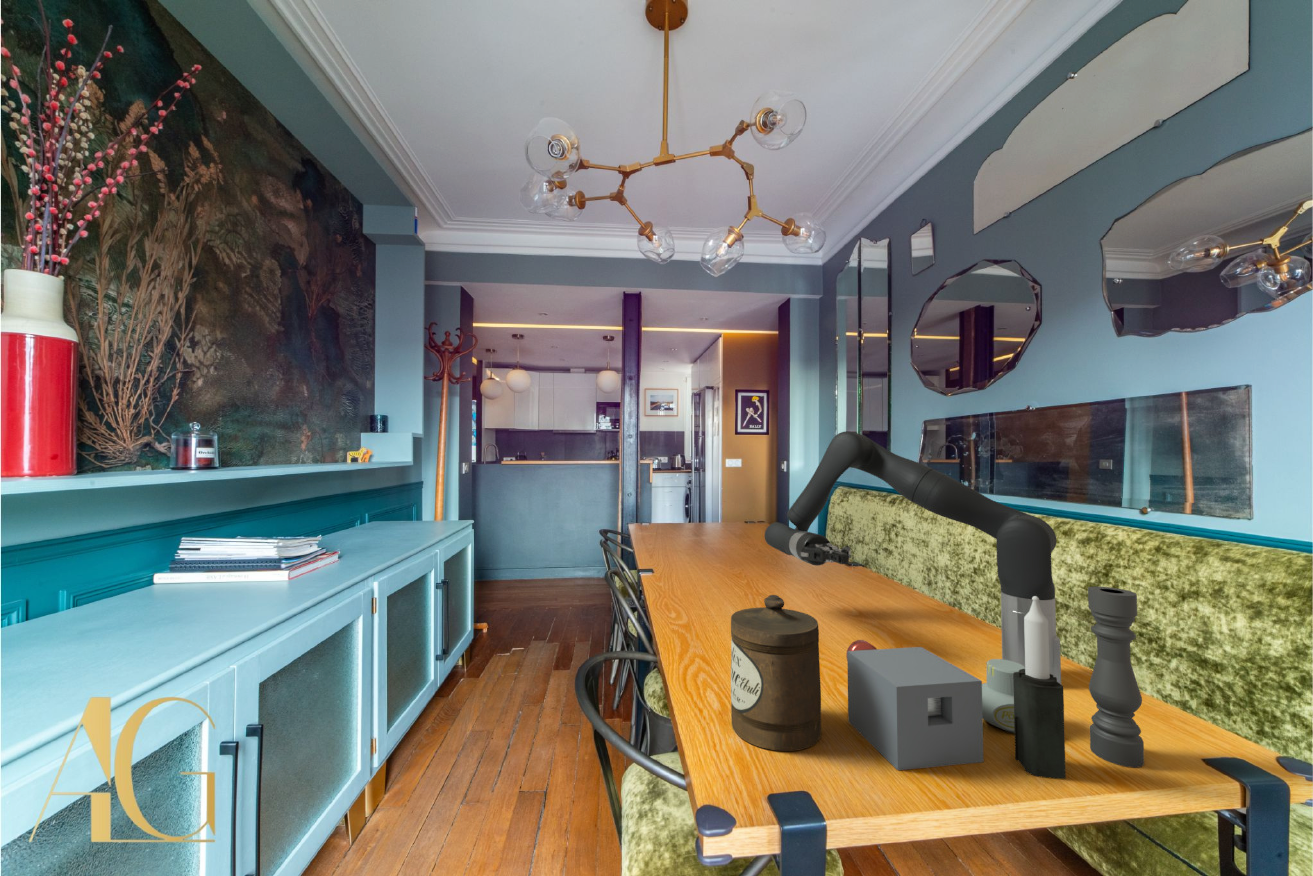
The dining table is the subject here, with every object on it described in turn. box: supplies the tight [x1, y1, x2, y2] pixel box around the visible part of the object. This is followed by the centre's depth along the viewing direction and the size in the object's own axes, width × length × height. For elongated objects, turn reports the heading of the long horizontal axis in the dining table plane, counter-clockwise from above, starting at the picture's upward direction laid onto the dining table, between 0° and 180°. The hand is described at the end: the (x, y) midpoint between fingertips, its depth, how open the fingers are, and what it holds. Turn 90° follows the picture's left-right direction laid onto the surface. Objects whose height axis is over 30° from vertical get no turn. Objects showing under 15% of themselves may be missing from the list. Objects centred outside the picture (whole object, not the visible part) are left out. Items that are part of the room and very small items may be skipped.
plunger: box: [845, 639, 941, 716], centre depth 89 cm, size 20×6×6 cm, turn 9°
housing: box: [846, 646, 984, 771], centre depth 83 cm, size 14×14×12 cm
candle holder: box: [1087, 586, 1145, 768], centre depth 80 cm, size 6×6×25 cm
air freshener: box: [982, 658, 1025, 734], centre depth 89 cm, size 11×8×10 cm
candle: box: [1013, 596, 1066, 779], centre depth 77 cm, size 5×5×25 cm
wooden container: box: [730, 594, 822, 752], centre depth 88 cm, size 15×15×22 cm
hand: (845, 559), depth 113 cm, fingers closed
